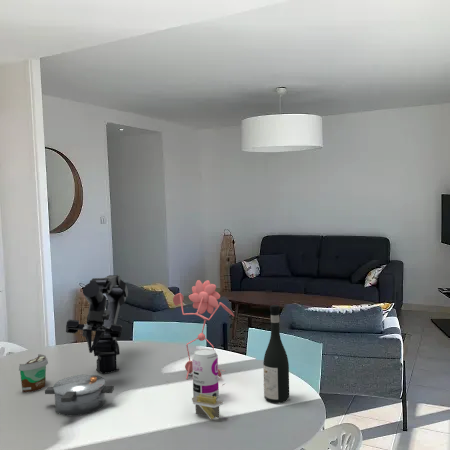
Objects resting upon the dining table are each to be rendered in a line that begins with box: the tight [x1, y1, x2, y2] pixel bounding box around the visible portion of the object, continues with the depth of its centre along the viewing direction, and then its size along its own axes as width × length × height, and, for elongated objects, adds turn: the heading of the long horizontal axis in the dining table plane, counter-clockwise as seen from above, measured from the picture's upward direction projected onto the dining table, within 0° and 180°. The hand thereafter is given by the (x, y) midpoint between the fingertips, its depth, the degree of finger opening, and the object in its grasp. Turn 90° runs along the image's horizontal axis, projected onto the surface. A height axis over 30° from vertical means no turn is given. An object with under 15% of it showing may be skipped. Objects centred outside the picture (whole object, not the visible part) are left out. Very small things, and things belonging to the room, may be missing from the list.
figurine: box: [172, 279, 235, 386], centre depth 183 cm, size 15×26×35 cm, turn 62°
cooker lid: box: [52, 374, 106, 402], centre depth 156 cm, size 20×16×2 cm
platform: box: [191, 394, 224, 420], centre depth 148 cm, size 12×18×7 cm, turn 63°
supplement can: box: [191, 348, 220, 400], centre depth 162 cm, size 8×8×15 cm
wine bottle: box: [262, 304, 290, 404], centre depth 159 cm, size 8×8×30 cm
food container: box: [18, 353, 49, 393], centre depth 175 cm, size 12×6×10 cm, turn 168°
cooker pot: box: [44, 385, 115, 417], centre depth 158 cm, size 15×21×6 cm
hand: (90, 352), depth 170 cm, fingers closed
